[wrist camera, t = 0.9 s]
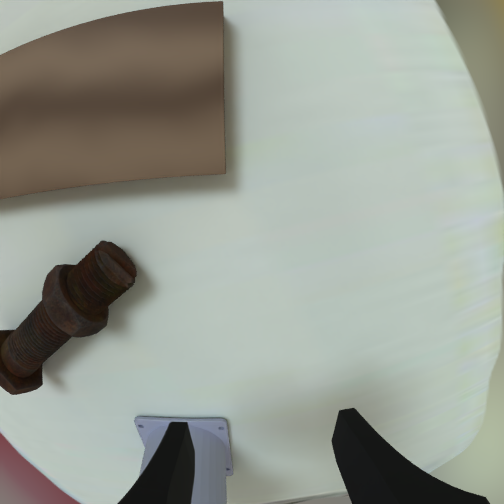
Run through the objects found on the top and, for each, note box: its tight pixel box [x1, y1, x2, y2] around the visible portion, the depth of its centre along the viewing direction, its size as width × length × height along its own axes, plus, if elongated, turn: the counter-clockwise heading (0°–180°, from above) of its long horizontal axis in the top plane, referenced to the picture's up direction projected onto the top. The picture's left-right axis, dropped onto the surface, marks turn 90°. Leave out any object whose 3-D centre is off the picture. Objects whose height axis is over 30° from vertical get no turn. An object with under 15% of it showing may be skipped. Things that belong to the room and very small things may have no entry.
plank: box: [0, 1, 226, 199], centre depth 14 cm, size 10×30×2 cm, turn 91°
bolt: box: [0, 241, 137, 395], centre depth 17 cm, size 6×5×15 cm
